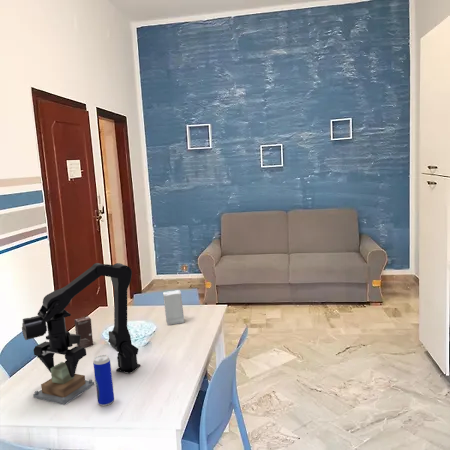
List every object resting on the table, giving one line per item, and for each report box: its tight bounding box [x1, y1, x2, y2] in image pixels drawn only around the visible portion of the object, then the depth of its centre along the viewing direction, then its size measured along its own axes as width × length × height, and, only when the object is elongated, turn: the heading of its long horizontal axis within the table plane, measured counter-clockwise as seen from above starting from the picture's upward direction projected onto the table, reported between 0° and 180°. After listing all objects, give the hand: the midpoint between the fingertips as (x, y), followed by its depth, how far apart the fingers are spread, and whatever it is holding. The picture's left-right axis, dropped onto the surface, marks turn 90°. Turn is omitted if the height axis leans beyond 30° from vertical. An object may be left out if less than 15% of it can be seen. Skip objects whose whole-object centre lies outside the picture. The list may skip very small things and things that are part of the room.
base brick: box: [40, 373, 86, 397], centre depth 157 cm, size 10×10×3 cm
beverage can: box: [93, 354, 115, 406], centre depth 147 cm, size 5×5×15 cm
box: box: [73, 315, 94, 348], centre depth 195 cm, size 6×4×12 cm
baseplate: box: [32, 379, 95, 406], centre depth 158 cm, size 14×14×2 cm
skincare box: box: [162, 289, 185, 326], centre depth 216 cm, size 8×6×15 cm
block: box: [50, 361, 74, 384], centre depth 157 cm, size 5×5×5 cm
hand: (62, 374), depth 157 cm, fingers open, 9 cm apart
